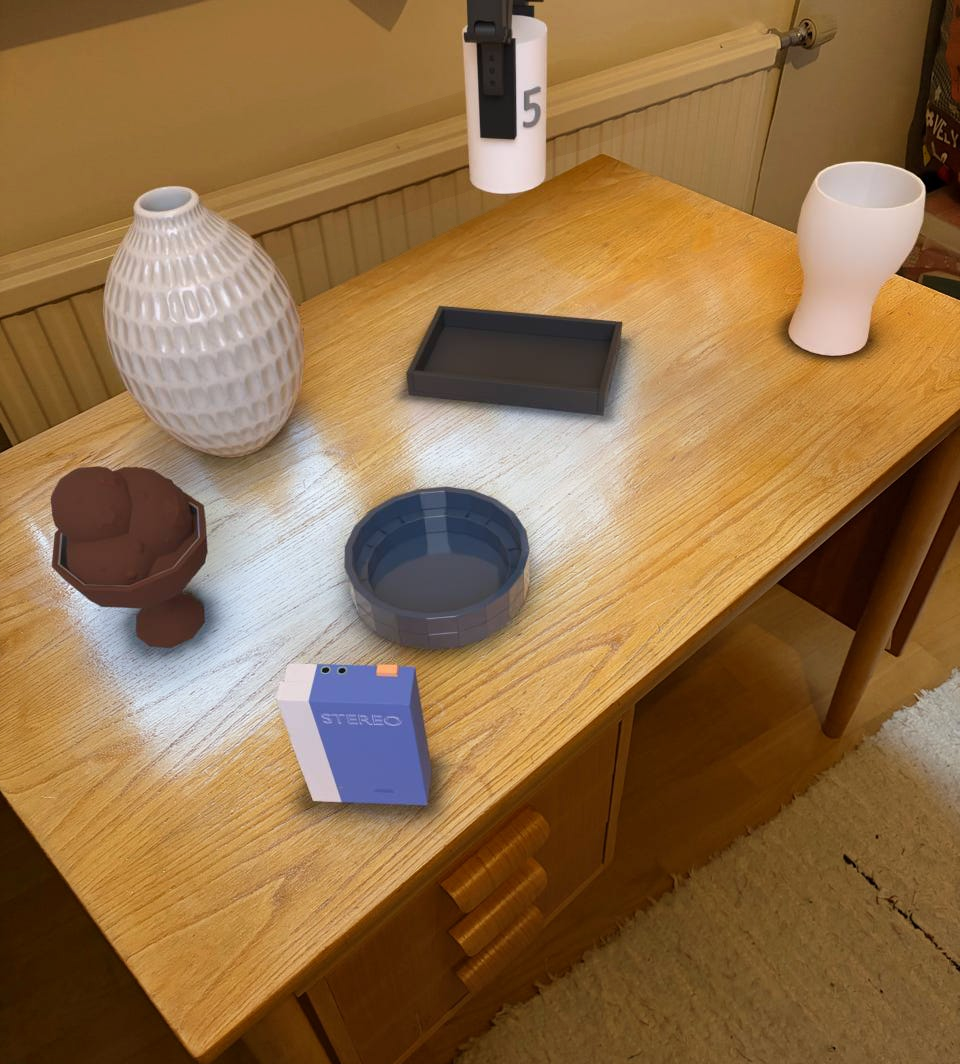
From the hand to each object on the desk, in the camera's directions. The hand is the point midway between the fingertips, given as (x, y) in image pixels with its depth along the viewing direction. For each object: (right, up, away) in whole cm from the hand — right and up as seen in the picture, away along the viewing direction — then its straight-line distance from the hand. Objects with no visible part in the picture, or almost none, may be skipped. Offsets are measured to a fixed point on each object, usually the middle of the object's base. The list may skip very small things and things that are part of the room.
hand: (508, 117), depth 71 cm
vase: (-25, -22, +15) cm, 37 cm away
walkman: (-9, -51, -10) cm, 53 cm away
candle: (0, -3, +4) cm, 5 cm away
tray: (+1, -14, +20) cm, 24 cm away
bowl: (-5, -37, +1) cm, 37 cm away
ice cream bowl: (-27, -40, 0) cm, 48 cm away
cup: (+33, -10, +21) cm, 41 cm away
